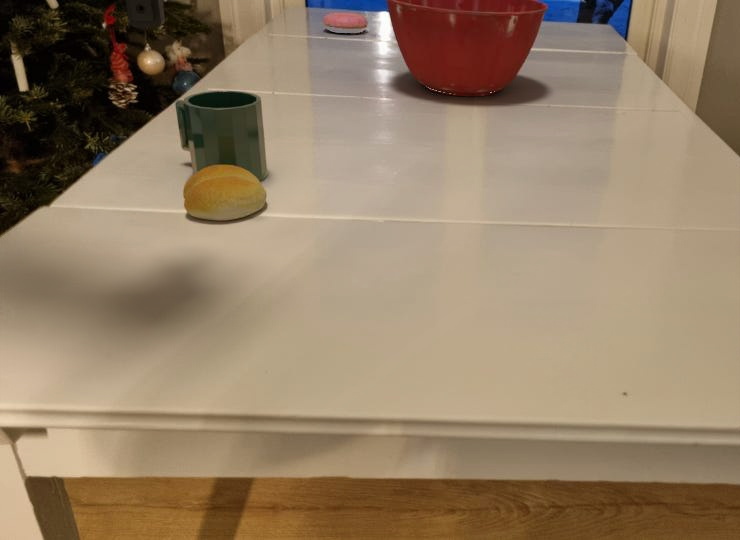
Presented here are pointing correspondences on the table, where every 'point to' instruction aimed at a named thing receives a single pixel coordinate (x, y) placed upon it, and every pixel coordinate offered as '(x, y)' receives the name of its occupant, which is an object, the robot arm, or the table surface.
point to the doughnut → (345, 20)
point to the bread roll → (223, 193)
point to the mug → (223, 130)
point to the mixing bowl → (465, 41)
